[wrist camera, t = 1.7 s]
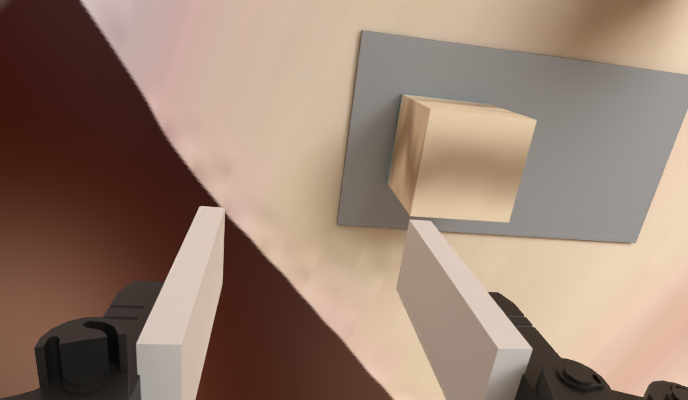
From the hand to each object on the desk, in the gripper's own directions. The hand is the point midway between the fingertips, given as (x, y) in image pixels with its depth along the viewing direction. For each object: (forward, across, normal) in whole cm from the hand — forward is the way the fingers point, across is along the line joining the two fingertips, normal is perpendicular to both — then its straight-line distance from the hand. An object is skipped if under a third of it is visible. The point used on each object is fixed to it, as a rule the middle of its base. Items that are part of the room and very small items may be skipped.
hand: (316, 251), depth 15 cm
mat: (+20, +18, 0) cm, 27 cm away
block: (+20, +11, 0) cm, 22 cm away
